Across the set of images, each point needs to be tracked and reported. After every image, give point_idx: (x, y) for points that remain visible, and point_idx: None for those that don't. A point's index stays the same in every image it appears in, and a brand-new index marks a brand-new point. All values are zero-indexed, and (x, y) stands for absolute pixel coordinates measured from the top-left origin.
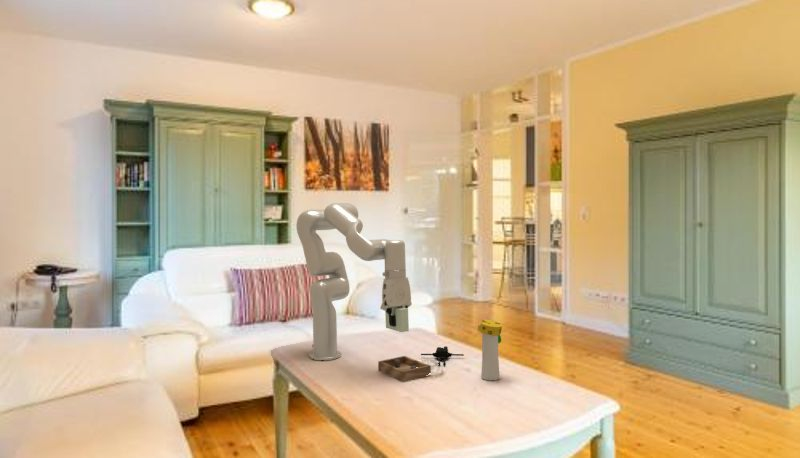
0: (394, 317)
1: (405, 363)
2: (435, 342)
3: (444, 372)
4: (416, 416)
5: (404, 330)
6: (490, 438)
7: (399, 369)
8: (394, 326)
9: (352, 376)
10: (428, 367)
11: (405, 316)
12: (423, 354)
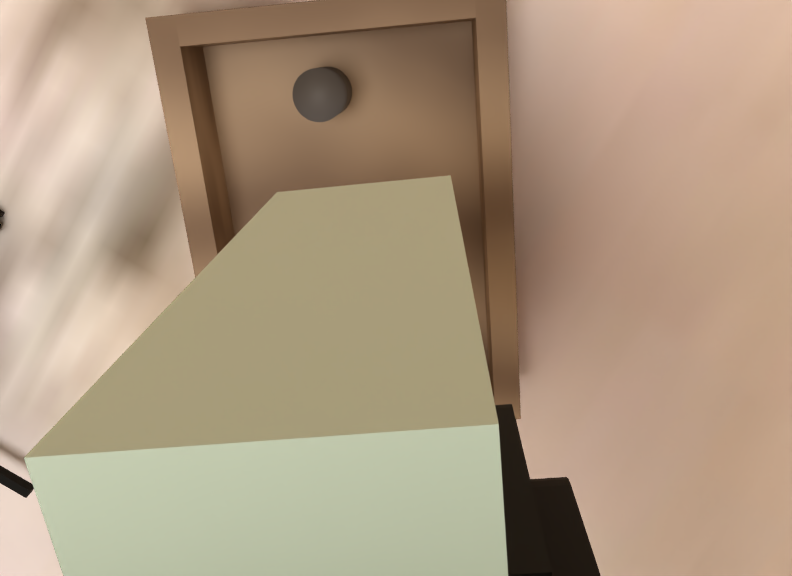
0: (539, 528)
1: None
2: None
3: (28, 28)
4: None
5: (381, 187)
6: None
7: (488, 87)
8: (506, 407)
9: (760, 368)
10: (180, 14)
11: (291, 292)
12: (12, 477)
